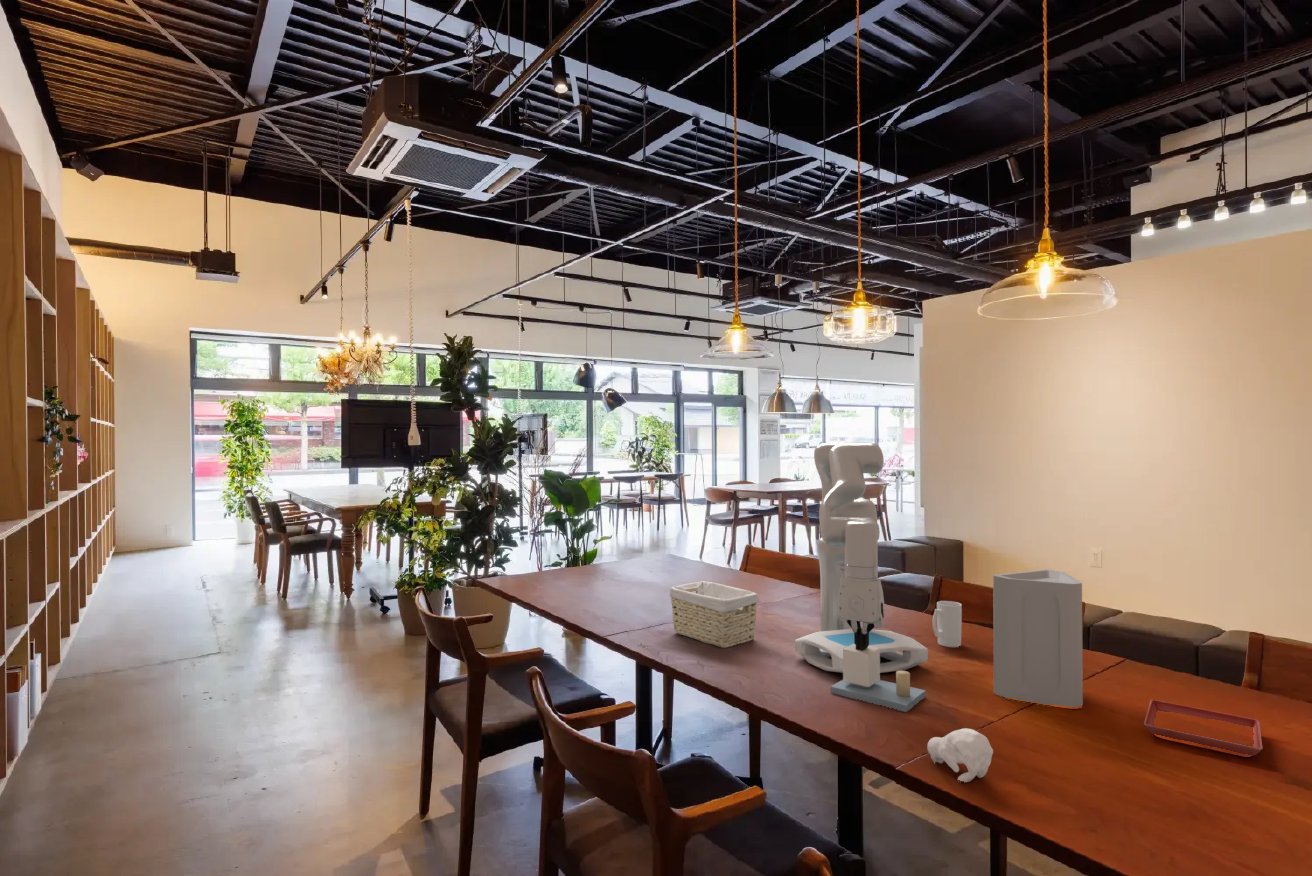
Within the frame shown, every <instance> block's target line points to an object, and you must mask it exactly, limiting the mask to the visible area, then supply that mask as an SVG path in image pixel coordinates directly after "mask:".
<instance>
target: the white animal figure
mask: <svg viewBox="0 0 1312 876" xmlns="http://www.w3.org/2000/svg"><path fill="white" fill-rule="evenodd" d="M926 746H927V747H926V748H927V752H928V754H929V755H930V758H931V760H932V761H933V763H934V765H936V763H939V764H943V763H944V762H945V763H946V764H947V765H948V767H950V769H952V770H953V772H955V773H959V771H960V767H959V764H960V765H962V764H963V765H965V766H966V768H967V770H968V771H967V772H964V773H961V774H960V775H958V777H957V781H958V780H960V781H964V783H969V782H971V781H972V780H974V779H975V777H976V776H977V778H979V779H982V778H983V777H985V775H986V774H987V773H988V770H989V767H990V766H991V762H992V757H993V754H994V749H993V748H992V746H991V744H990V741H989V739H988V737H986V736H985V735H984V734H982V733H980V732H978V731H977V730H975V729H973V728H966V727H964V728H961V729H956V730H953V731H950V733H948V734H945V735H944V736H943V737H940V736H934V737H932V738H930V739H929V741H928V742H927V745H926Z"/></svg>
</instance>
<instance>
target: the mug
mask: <svg viewBox="0 0 1312 876" xmlns="http://www.w3.org/2000/svg"><path fill="white" fill-rule="evenodd" d="M962 606H963V605H962V603H960V602H957V601H952V600H950V601H949V600H940V601H937V602H936V608H935V609H934V612H933V616H932V622H931V623H932V629H933V633H934V636H935V637H937V644H938V645H940V646H943V647H946V648H959V646H960V647H961V646H962V619H963V618H962V616H963V610H962Z"/></svg>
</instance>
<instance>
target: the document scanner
mask: <svg viewBox="0 0 1312 876" xmlns="http://www.w3.org/2000/svg"><path fill="white" fill-rule="evenodd" d="M852 644H854V632H853V631H852V629H844V630H833V631H823V632H818V631H817V632H812V633H810V634H807V635H803V636H801V637H798V638H796V639H795V640H794V651H795V652H797V653H798V654H799V655H800V656H801V657H802V658H803V659H804V660H805V661H806V662H807V663H808V664H811V665H813V666H815V667H816V668H819V669H821V670H823V671H826V672H835V673H840V674H841V673H842V674H843V649H844V648H846V647H848V646H850V645H852ZM869 646H871V647H876V648H880V658H884V659H887V660H889V661H886V662H880V674H882V673H889V672H896V671H906V670H910V669H912V668H914V667H917V666H919V665H921V664H924V663H926V662H928V657H929V656H928V654H929V653H928V652H929V651H928V648H927V647H925V646H924V645H922V644H921V643H920V642H918V641H917V640H915V639H914V638H913V637H911V636H910V637H909V636H906V635H904V634H900V633H897V632H894V631H891V630H881V629H872V630H871V631H870V632H869ZM901 651H902V652H901Z"/></svg>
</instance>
